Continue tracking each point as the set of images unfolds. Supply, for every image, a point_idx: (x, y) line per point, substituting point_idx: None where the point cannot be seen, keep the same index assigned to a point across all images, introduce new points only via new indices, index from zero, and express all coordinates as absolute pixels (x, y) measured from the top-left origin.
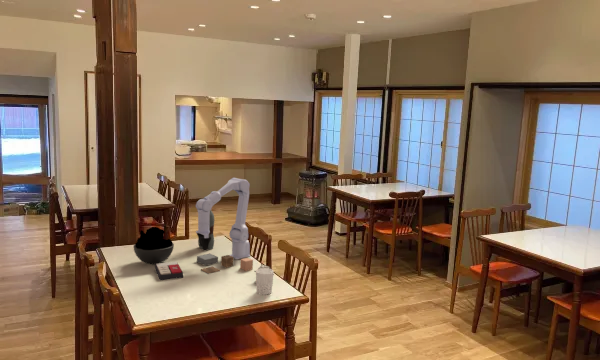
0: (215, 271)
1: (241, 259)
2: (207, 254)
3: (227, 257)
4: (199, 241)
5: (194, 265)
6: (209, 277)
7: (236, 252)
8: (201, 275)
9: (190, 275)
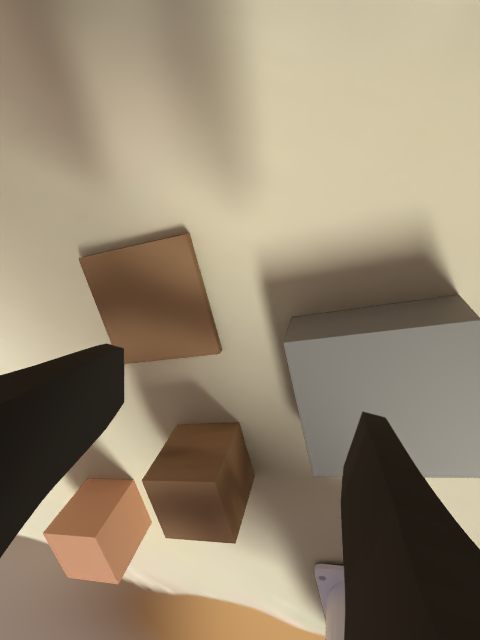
0: (105, 322)
1: (91, 540)
2: (460, 443)
3: (167, 501)
4: (385, 472)
5: (350, 225)
6: (10, 232)
7: (343, 625)
8: (60, 188)
9: (78, 83)
